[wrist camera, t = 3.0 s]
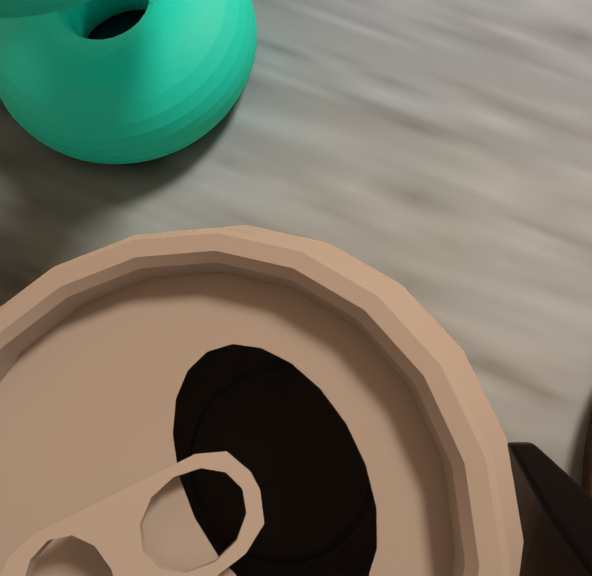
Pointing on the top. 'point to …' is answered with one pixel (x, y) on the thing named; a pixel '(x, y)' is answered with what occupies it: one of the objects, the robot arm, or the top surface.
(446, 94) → the top surface
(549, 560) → the robot arm
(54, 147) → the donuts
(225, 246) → the can
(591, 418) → the duct stub
